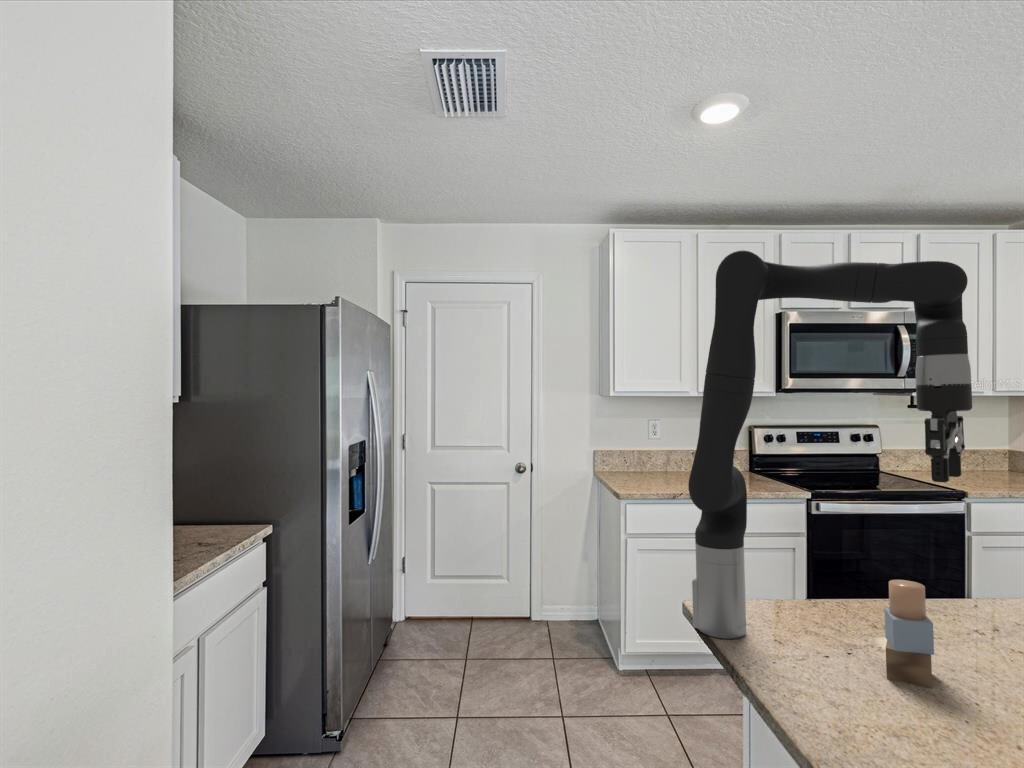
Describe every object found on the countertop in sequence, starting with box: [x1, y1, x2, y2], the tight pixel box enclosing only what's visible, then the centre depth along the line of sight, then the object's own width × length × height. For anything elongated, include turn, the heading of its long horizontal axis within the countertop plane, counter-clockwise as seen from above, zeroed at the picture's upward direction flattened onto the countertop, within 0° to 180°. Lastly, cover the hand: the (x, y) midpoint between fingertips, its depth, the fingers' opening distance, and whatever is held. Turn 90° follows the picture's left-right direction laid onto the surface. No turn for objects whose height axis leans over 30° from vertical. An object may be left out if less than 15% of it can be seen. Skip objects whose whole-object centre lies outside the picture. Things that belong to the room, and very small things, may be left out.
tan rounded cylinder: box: [888, 579, 927, 620], centre depth 97 cm, size 5×5×5 cm
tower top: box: [883, 607, 935, 656], centre depth 96 cm, size 6×6×5 cm
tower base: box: [885, 640, 933, 689], centre depth 96 cm, size 6×6×5 cm
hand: (947, 479), depth 97 cm, fingers open, 8 cm apart
